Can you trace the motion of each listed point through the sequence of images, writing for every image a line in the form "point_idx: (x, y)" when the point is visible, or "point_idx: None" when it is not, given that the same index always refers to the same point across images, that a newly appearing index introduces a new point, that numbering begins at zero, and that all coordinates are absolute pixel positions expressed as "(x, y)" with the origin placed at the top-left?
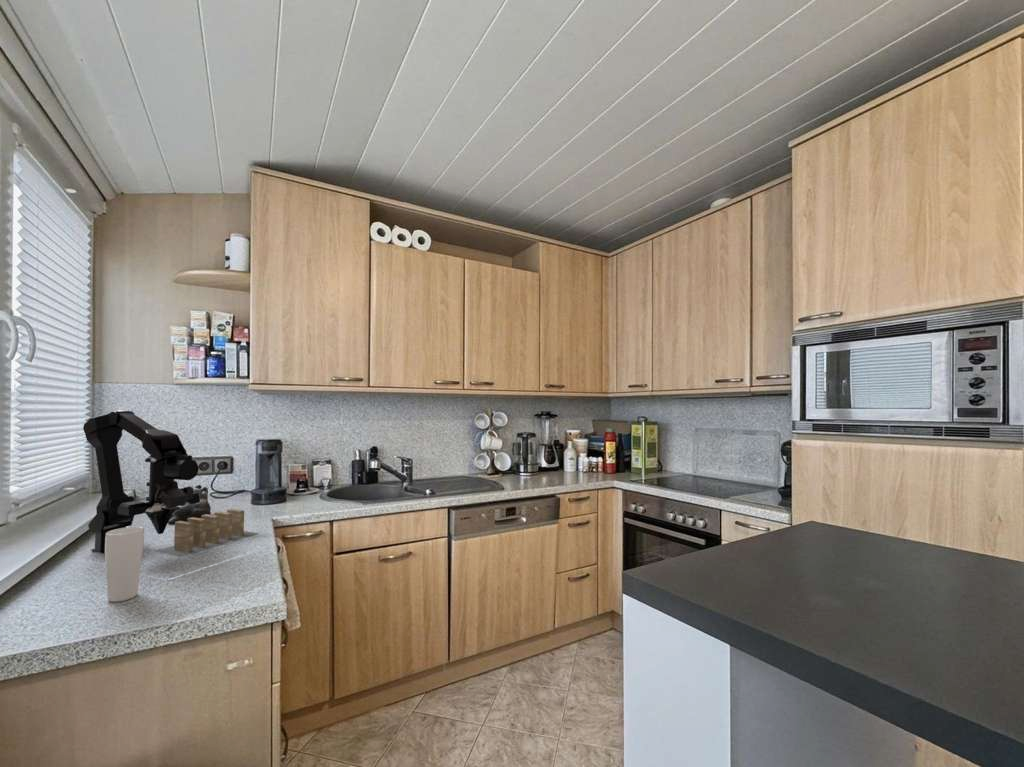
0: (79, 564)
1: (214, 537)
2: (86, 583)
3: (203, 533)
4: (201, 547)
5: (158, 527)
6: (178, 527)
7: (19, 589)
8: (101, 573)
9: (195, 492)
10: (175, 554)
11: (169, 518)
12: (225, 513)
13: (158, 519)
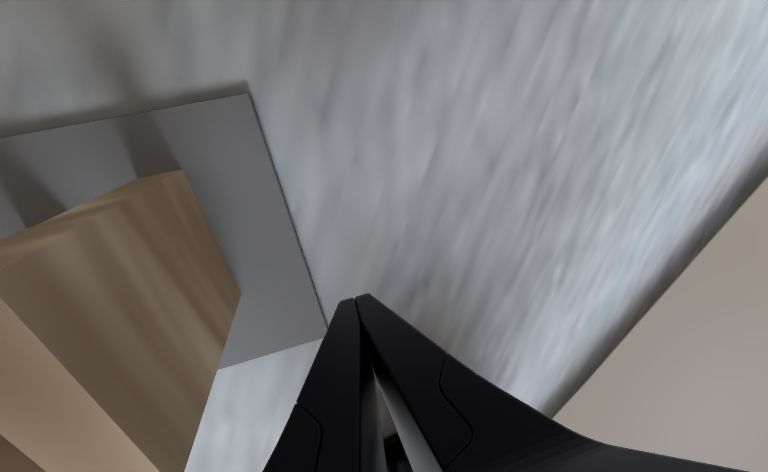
0: (546, 345)
1: None
2: (685, 51)
3: None
4: (60, 211)
5: (412, 326)
6: (165, 390)
7: (746, 196)
8: (584, 163)
9: None
10: (260, 177)
11: (275, 451)
12: None
13: (489, 402)
